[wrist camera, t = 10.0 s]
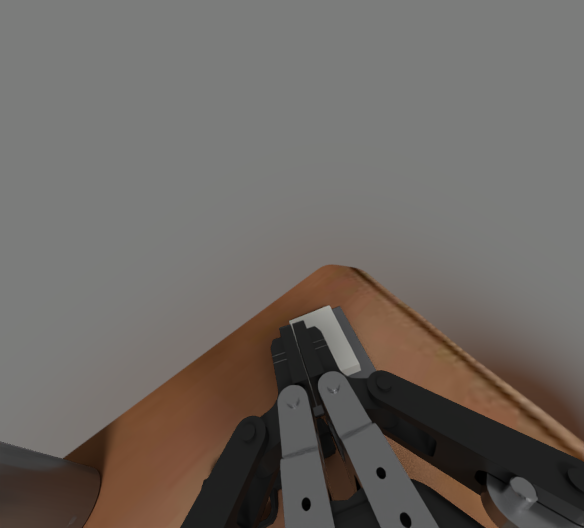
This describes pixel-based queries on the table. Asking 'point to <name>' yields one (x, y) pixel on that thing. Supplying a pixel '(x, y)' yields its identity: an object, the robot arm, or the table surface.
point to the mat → (357, 349)
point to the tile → (332, 338)
